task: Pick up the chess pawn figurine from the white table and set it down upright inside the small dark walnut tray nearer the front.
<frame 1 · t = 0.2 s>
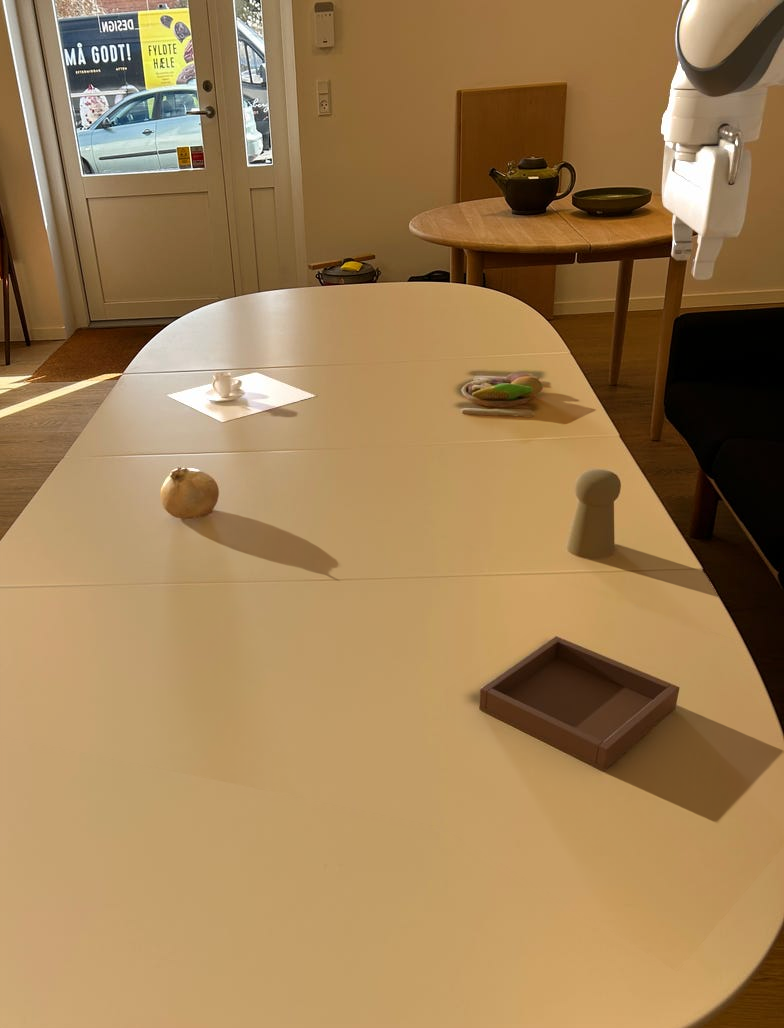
hand: (690, 268, 102), 33 cm above the table, tool pointing down, fingers open, 8 cm apart
toy food set: (501, 397, 170), on the table
onion: (192, 515, 135), on the table
chess pawn figurine: (588, 558, 118), on the table
tray: (576, 709, 92), on the table
teacup and saucer: (240, 396, 178), on the table
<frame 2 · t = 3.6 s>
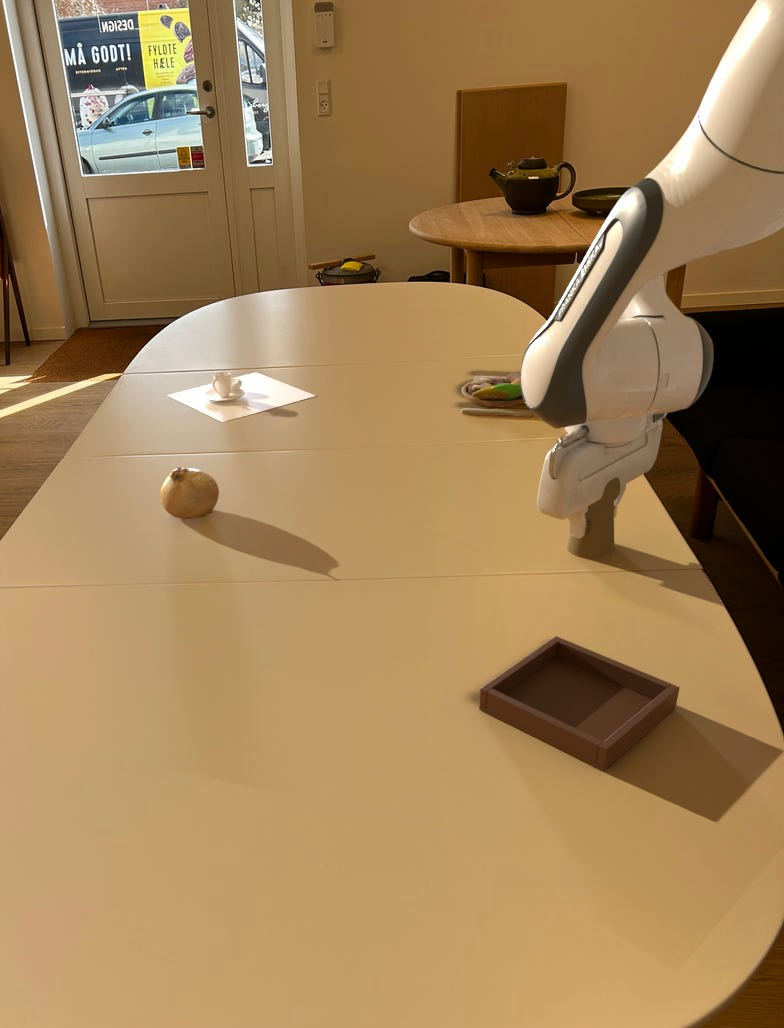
hand: (592, 526, 116), 4 cm above the table, tool pointing down, fingers closed on chess pawn figurine, 4 cm apart
chess pawn figurine: (588, 558, 118), on the table, touching gripper
everything else where it was.
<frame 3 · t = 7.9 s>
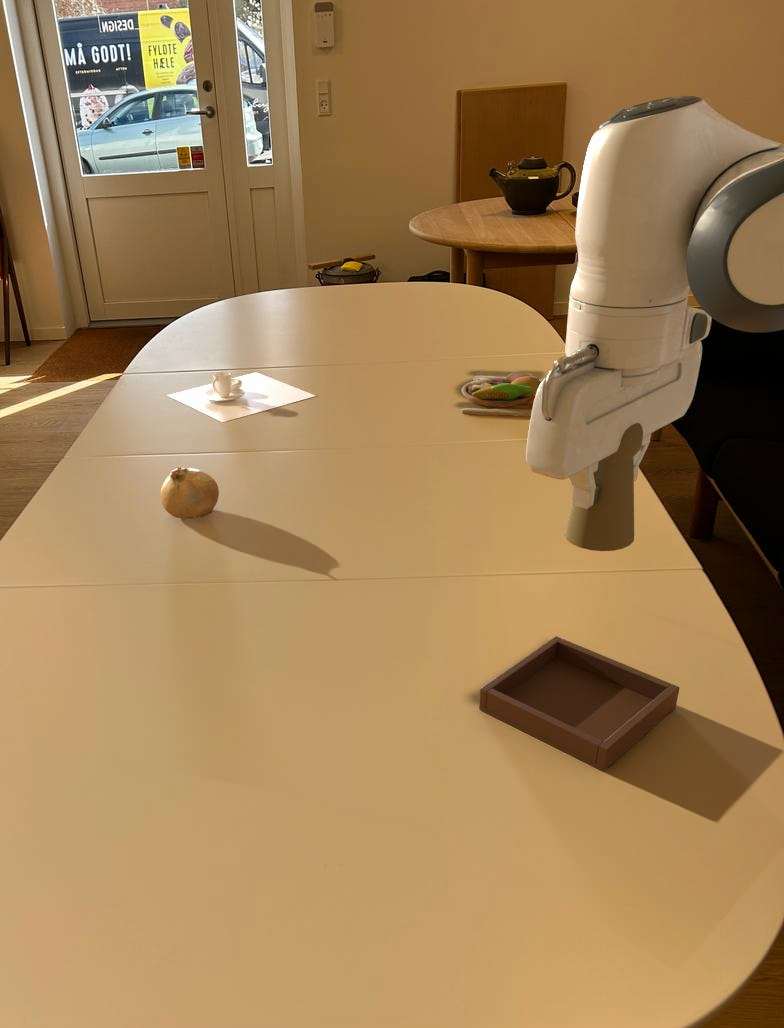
hand: (604, 493, 84), 21 cm above the table, tool pointing down, fingers closed on chess pawn figurine, 4 cm apart
chess pawn figurine: (598, 537, 86), point 17 cm above the table, touching gripper
everything else where it was.
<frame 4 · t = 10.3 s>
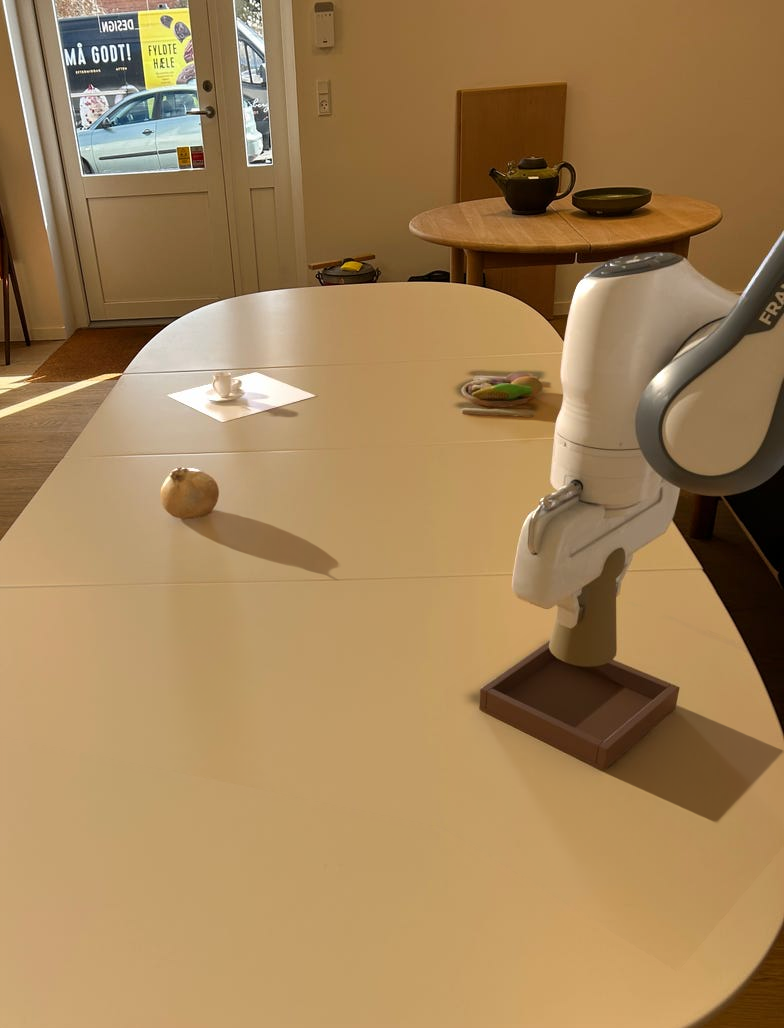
hand: (588, 609, 86), 11 cm above the table, tool pointing down, fingers closed on chess pawn figurine, 4 cm apart
chess pawn figurine: (582, 650, 89), point 7 cm above the table, touching gripper
everything else where it was.
when the fingers open (5 cm above the table, at t = 12.3 s): chess pawn figurine stays where it is, resting on tray.
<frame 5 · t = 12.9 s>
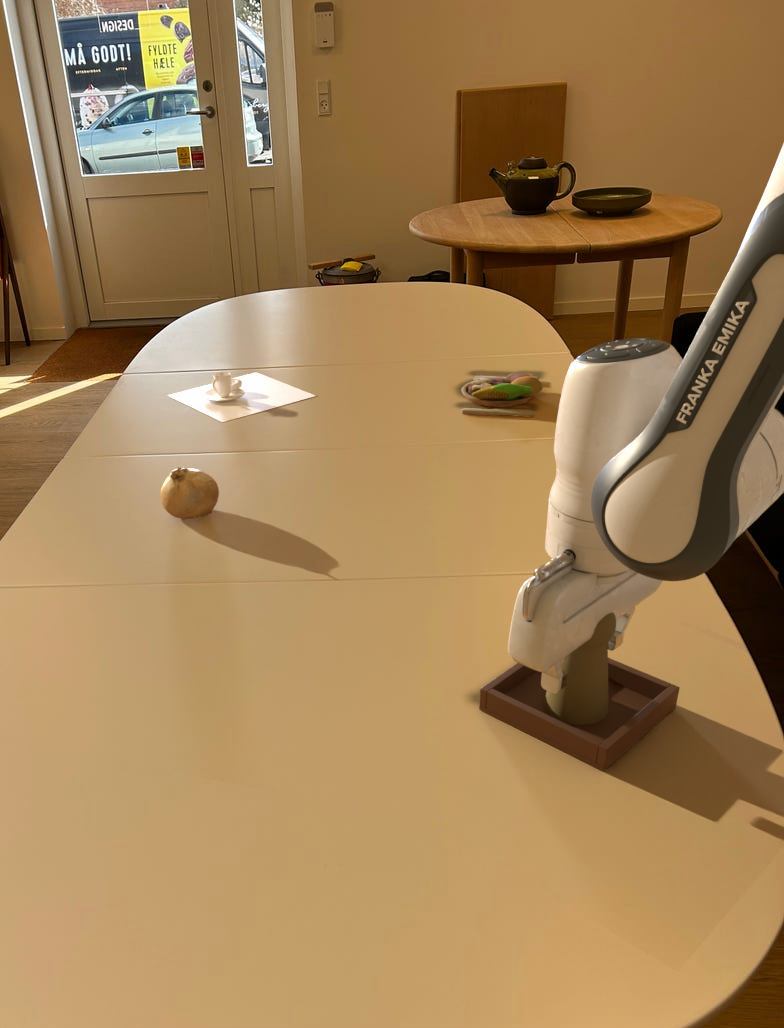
hand: (582, 666, 90), 5 cm above the table, tool pointing down, fingers open, 8 cm apart
chess pawn figurine: (575, 707, 92), resting on tray
everything else where it was.
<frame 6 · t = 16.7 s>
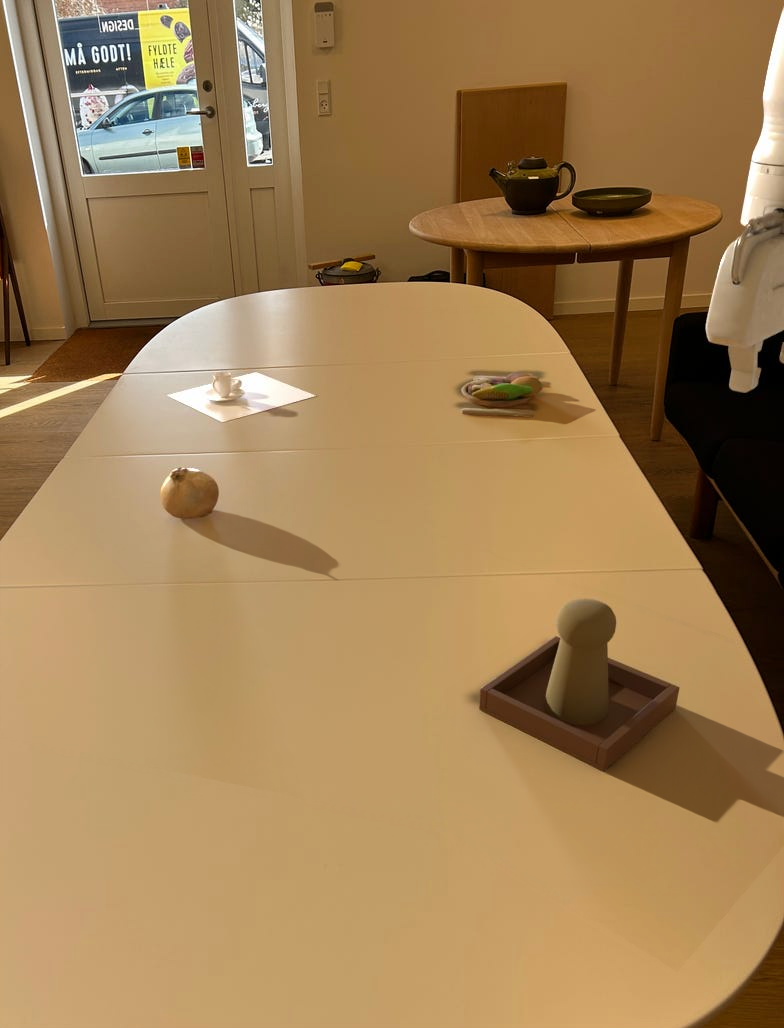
hand: (768, 375, 83), 29 cm above the table, tool pointing down, fingers open, 8 cm apart
nothing on the table moved.
at the end: chess pawn figurine inside the target area in the tray (0.2 cm from its centre), point 0.3 cm above the tray's base; chess pawn figurine tilted 0°; the gripper is holding nothing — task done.
